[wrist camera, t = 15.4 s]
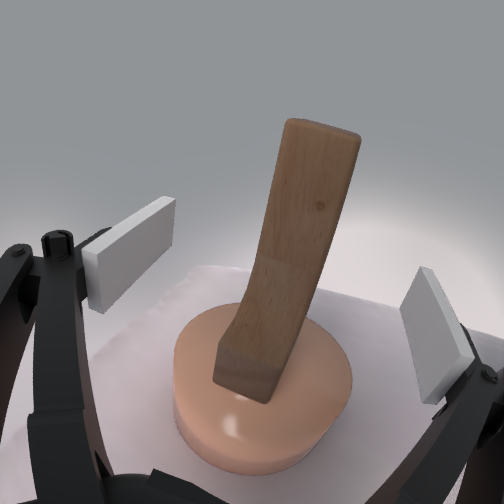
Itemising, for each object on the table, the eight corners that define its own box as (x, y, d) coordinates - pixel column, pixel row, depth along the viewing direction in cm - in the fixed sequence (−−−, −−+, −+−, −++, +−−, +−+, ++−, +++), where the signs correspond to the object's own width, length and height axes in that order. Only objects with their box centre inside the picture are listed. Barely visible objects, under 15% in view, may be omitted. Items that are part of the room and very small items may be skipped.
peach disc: (324, 373, 34) (349, 324, 30) (313, 488, 21) (352, 455, 17) (202, 340, 35) (208, 286, 32) (149, 444, 22) (141, 399, 18)
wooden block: (266, 407, 20) (359, 140, 11) (209, 383, 21) (257, 114, 13) (298, 334, 28) (363, 135, 19) (253, 317, 29) (301, 118, 20)
